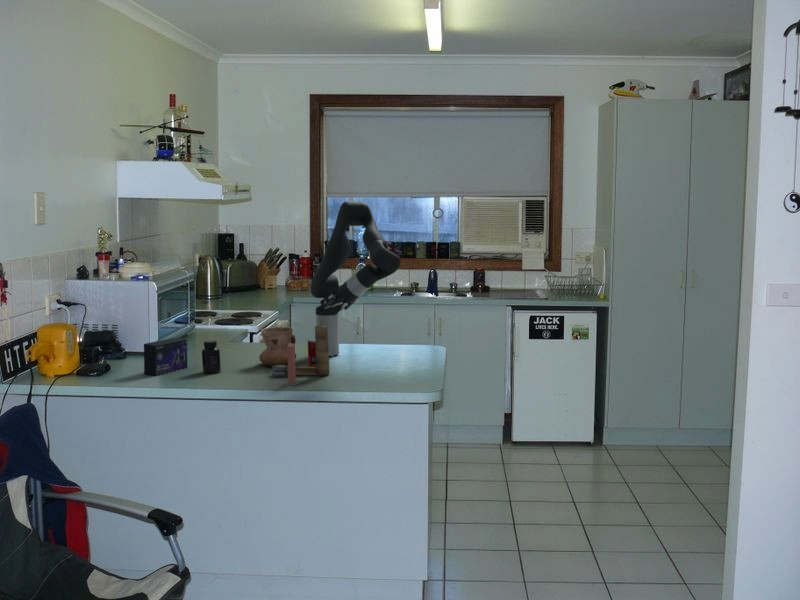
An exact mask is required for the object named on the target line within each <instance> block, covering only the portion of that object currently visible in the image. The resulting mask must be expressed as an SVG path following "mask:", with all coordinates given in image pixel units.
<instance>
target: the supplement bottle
mask: <svg viewBox="0 0 800 600" xmlns="http://www.w3.org/2000/svg"><path fill="white" fill-rule="evenodd" d="M217 343H218V342H217V340H211V339H210V340H204V341H203V347H204V348H203V349H202V350H201V361H202V372H203V374H205V373H206V375H212V374H213V375H214V373H215V374H219V373H220V372H222V365H221V350H220V348H219V347H217V346H218V344H217Z"/></svg>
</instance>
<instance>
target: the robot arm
mask: <svg viewBox="0 0 800 600" xmlns="http://www.w3.org/2000/svg"><path fill="white" fill-rule="evenodd" d="M337 212H338V213H337V217H336V221H335V223H334V227H333V231H332V234H331V236H330V239H329V241H328V243H327V244H326V245H327V246H326V249H325V251H324V254H323V256H322V259H321V261H320V263H319V266H318V268H317V270H316V271H315V273H314V275H313V277H312V279H311V283H310V288H309V289H310V293H311V295H312V297H313V298H316V299H321V300H320V301H319V303H320V305H317V306H316V308H315V326H328V346H329V356H332V357H335V356H334V355H337V356H339V355H340V344H339V343H340V341H339V339H340V338H339V313H340V311H343V310H344V311H345V310H348V309H349V308H350V307H351V306H352V305H354V303H355V302H357V301H356V300H358V299H359V298H360V297H361V296H362V295H364V293H366V292H367V291H368V289H370V288H371V287H372V286H373V285H374V284H376V283H377V282H378V281H380V280H383V279H385V278H386V277H389V276H392V275H393V274H394V273H395V272H397V271H398V269H399V268H400V266H401V258H400V256H399V255H397V254H396V253H395V252H392V251H390V250H389V249H388V243H387V242H386V240H385V239H384V237H383V235H382V234H381V233H380V231H379V229H378V226H377V223H376V221H375V218H374V215H373V212H372V210H371V208H370V206H369V205H368V203H366V202H365V201H344V202H343V203H342V204H341V205H340V206H339V209H338V211H337ZM361 226H362V227H364V231H363V235H362V241H363V244H364V246H365V248H366V250H367V251H368V252H369V257H370V261H371V262H372V264H366V265H364V266H363V267H362V268H360V269H359V270H358V271H357V272H356V273H354V274H352V275H351V276H350V277H349V278H348V279H346V281H344V282H343V283H342V284H341V285H340V282H339V279H338V277H337V276H336V275H335V274H334V273H336V272H337V271H338V270H339V269H341V268H342V267H343V266H344V265H345V264H346V262H347V260H348V259H349V258H348V257H349V255H350V253H351V249H352V247H351V241H350V240H349V238H348V236H347V233H346V231H347V229H348V227H361ZM338 354H339V355H338Z"/></svg>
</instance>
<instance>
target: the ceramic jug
mask: <svg viewBox="0 0 800 600" xmlns="http://www.w3.org/2000/svg"><path fill="white" fill-rule="evenodd" d="M293 331H294V329H293V327H289V326H273V327H270V326H269V327H266V328H262V329H261V331H260V332H261V337H262V338H261V339H259V343H260V344H265V346H266V348H265V349H264V350H263V351H261V353H260V354H259V361H260V363H262V364H264V365H266V366H269V367H273V366H276V365H286V366H288V358H287V346H288V345H289V343H295V344H296V342H297V341H296V336H295V334H293ZM295 360H297V353H296V352H295Z"/></svg>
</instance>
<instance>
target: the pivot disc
mask: <svg viewBox="0 0 800 600" xmlns="http://www.w3.org/2000/svg"><path fill="white" fill-rule="evenodd" d="M271 377H273V378H286V377H288V370H285V371H273V369H272V370H271Z"/></svg>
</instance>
